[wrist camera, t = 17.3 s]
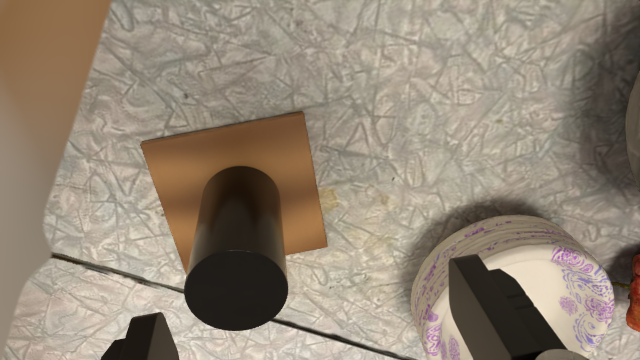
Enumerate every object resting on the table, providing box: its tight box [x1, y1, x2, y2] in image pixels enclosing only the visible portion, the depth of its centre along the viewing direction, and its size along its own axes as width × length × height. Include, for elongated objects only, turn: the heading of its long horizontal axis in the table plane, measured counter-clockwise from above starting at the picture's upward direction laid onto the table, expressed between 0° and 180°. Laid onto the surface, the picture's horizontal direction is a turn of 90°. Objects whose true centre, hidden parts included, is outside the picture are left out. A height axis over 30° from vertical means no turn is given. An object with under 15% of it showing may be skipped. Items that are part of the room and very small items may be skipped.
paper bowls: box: [411, 215, 615, 360], centre depth 42 cm, size 15×15×8 cm
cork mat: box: [140, 112, 327, 275], centre depth 39 cm, size 12×12×1 cm
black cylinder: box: [184, 166, 288, 331], centre depth 34 cm, size 6×6×11 cm
